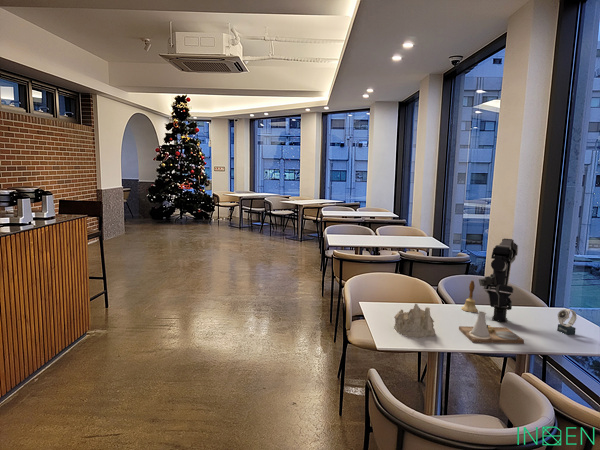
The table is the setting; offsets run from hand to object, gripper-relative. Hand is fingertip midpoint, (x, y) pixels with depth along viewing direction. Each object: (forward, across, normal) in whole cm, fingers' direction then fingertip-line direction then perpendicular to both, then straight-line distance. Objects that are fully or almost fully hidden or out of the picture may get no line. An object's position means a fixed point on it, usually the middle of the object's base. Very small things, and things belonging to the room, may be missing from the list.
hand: (495, 306), depth 191 cm
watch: (+6, -6, +35) cm, 36 cm away
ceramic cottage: (+17, +2, -35) cm, 39 cm away
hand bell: (+4, -33, 0) cm, 33 cm away
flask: (+13, +7, -8) cm, 17 cm away
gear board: (+13, +4, -2) cm, 14 cm away
